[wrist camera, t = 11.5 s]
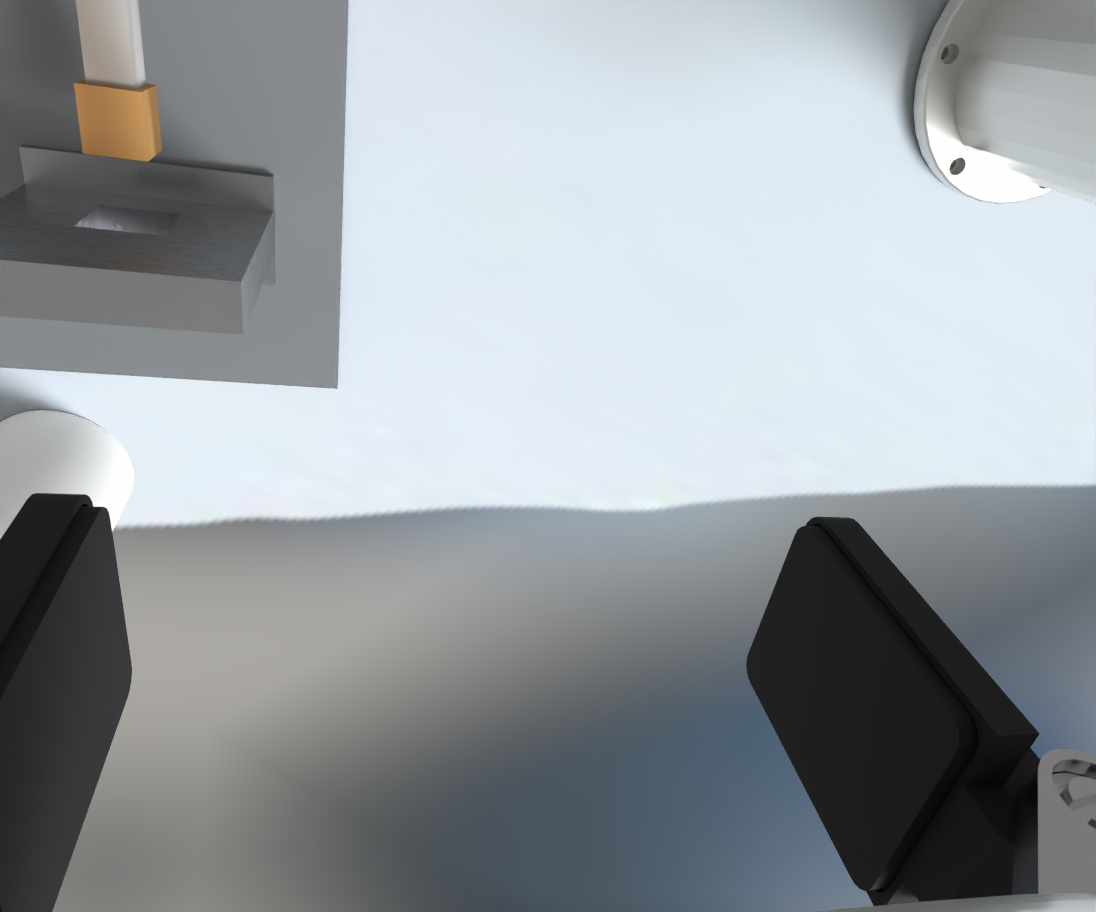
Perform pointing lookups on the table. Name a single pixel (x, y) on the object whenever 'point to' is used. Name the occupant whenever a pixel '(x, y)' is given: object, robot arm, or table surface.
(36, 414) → the cylindrical container
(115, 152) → the tan wooden mallet shape
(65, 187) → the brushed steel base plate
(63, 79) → the mat
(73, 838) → the robot arm
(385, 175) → the table surface
